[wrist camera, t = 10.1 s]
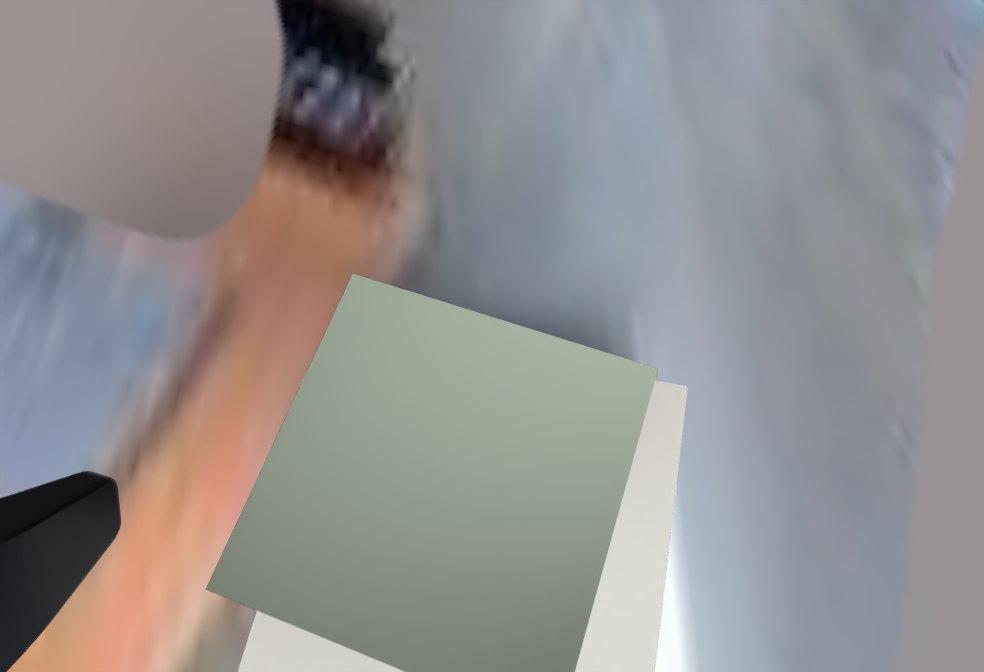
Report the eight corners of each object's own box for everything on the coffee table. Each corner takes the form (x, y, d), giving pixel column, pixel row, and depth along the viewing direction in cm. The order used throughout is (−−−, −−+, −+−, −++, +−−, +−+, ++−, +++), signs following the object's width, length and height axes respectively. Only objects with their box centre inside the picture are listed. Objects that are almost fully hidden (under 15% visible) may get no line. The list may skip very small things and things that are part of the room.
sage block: (537, 640, 15) (557, 734, 7) (370, 575, 16) (205, 588, 8) (588, 466, 17) (657, 368, 8) (433, 413, 17) (353, 273, 9)
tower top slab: (622, 767, 17) (639, 801, 14) (269, 675, 18) (231, 692, 15) (667, 407, 20) (687, 386, 18) (367, 347, 21) (348, 320, 19)
